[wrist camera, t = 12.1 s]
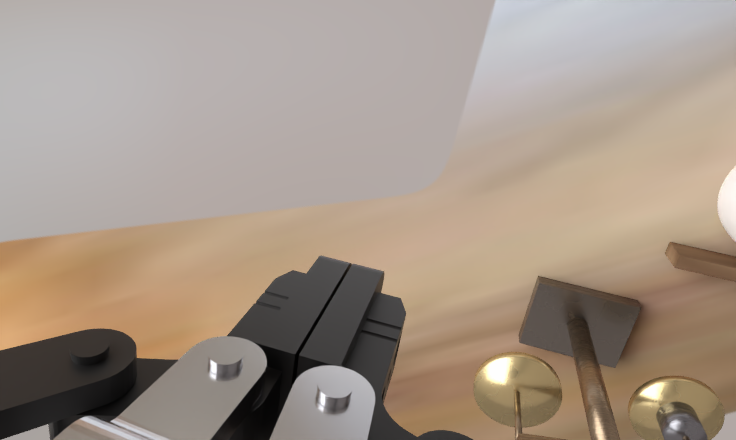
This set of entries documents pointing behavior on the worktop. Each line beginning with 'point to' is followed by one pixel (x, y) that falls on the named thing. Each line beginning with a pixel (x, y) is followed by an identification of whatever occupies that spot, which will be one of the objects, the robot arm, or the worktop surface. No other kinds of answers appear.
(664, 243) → the worktop surface
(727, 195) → the mug
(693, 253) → the tray frame
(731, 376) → the worktop surface
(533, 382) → the balance
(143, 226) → the worktop surface
